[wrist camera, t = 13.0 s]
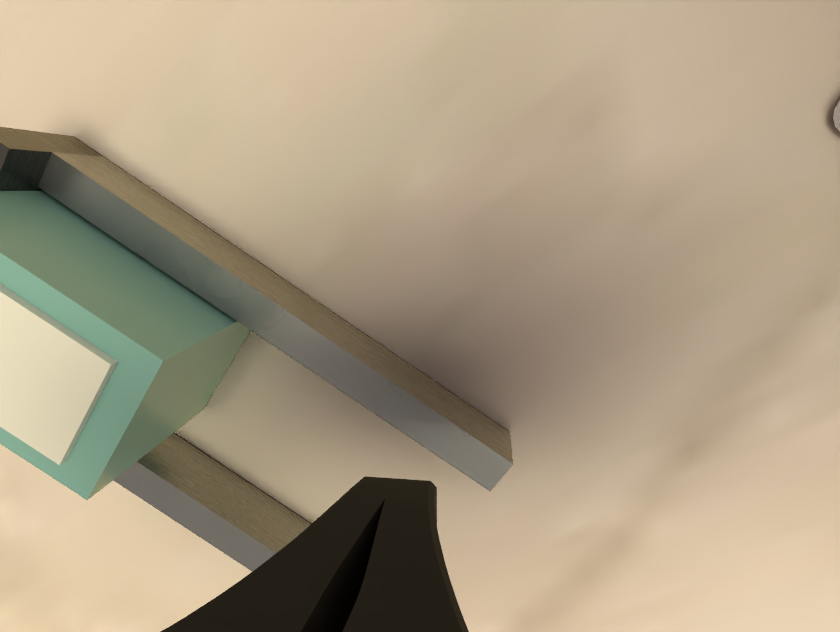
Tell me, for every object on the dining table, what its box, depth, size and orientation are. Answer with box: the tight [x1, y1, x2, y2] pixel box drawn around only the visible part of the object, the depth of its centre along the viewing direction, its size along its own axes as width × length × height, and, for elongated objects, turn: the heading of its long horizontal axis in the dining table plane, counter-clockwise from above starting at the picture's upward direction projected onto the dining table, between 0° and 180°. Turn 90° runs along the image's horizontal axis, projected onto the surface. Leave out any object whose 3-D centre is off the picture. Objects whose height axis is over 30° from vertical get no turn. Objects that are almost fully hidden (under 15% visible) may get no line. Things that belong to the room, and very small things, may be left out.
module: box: [0, 191, 250, 500], centre depth 13 cm, size 6×4×5 cm, turn 56°
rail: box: [0, 127, 513, 571], centre depth 14 cm, size 15×7×3 cm, turn 56°
